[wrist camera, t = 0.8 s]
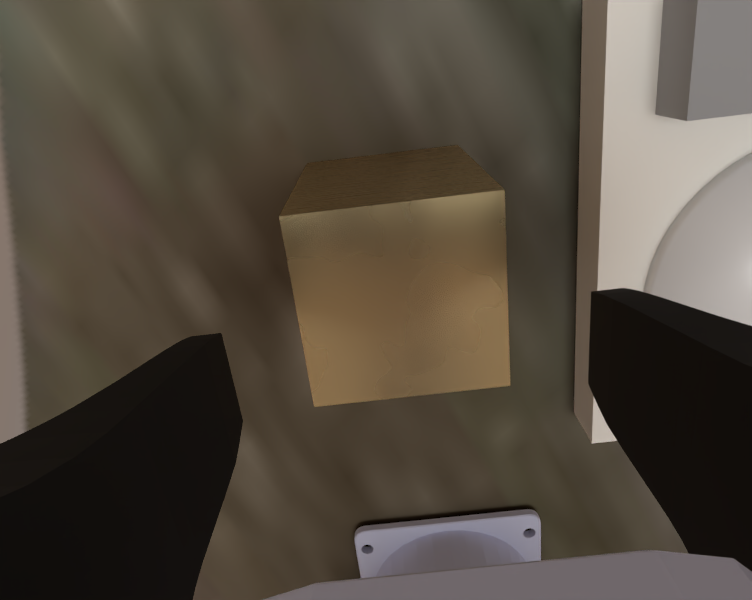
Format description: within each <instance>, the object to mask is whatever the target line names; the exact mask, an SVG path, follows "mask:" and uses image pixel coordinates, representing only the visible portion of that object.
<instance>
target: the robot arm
mask: <svg viewBox="0 0 752 600" xmlns="http://www.w3.org/2000/svg"><path fill="white" fill-rule="evenodd" d="M588 384H589V387H590V389H591V391H592V394H593V396H594V398H595V400H596V403H597V405H598V407H599V409H600V411H601V413H602V415H603V417H604V420H605V422H606V424H607V425H608V427H609V429H610V430H611V432H612V433H613V435H614V436H615V438H616V439H617V441H618V443H619V444H620V446H621V447H622V449H623V450H624V452H625V453H626V455H627V456H628V458H629V459H630V461H631V462H632V464H633V465H634V467H635V468H636V470H637V471H638V473H639V474H640V476H641V477H642V479H643V480H644V482H645V483H646V485H647V486H648V488H649V489H650V491H651V492H652V494H653V495H654V497H655V498H656V500H657V501H658V503H659V504H660V506H661V507H662V509H663V510H664V512H665V513H666V515H667V516H668V518H669V519H670V521H671V523H672V524H673V526H674V528H675V529H676V531H677V533H678V534H679V536H680V538H681V539H682V541H683V543H684V545H685V547H686V549H687V551H688V553H689V554H686V553H676V552H667V551H657V550H640V551H630V552H620V553H610V554H600V555H590V556H580V557H570V558H560V559H550V560H541V521H540V518H539V515H538V513H537V512H536V511H534V510H532V509H524V510H514V511H504V512H494V513H485V514H475V515H465V516H455V517H445V518H436V519H426V520H416V521H406V522H396V523H387V524H377V525H367V526H362V527H359V528H358V529H357V530H356V531H355V547H356V553H357V558H358V564H359V570H360V576H361V578H359V579H349V580H339V581H329V582H319V583H314V584H311V585H308V586H305V587H301V588H298V589H295V590H292V591H288V592H285V593H282V594H279V595H275V596H272V597H269V598H266V599H262V600H752V326H750V325H747V324H743V323H740V322H737V321H733V320H730V319H727V318H723V317H720V316H717V315H714V314H711V313H708V312H705V311H702V310H698V309H695V308H692V307H689V306H686V305H683V304H680V303H677V302H674V301H671V300H668V299H665V298H662V297H659V296H655V295H652V294H649V293H645V292H641V291H638V290H633V289H627V288H618V289H609V290H600V291H591V308H590V339H589V369H588ZM242 423H243V419H242V415H241V411H240V407H239V403H238V399H237V395H236V391H235V387H234V383H233V379H232V375H231V371H230V367H229V362H228V358H227V354H226V350H225V346H224V342H223V338H222V334H221V333H218V334H209V335H200V336H192V337H189V338H186V339H184V340H182V341H180V342H178V343H176V344H175V345H173V346H171V347H169V348H168V349H166V350H165V351H163V352H161V353H160V354H158V355H157V356H155V357H154V358H152V359H150V360H149V361H147V362H146V363H144V364H143V365H141V366H140V367H138V368H137V369H135V370H133V371H132V372H130V373H129V374H127V375H126V376H124V377H123V378H121V379H119V380H118V381H116V382H115V383H113V384H111V385H110V386H108V387H106V388H105V389H103V390H101V391H100V392H98V393H96V394H95V395H93V396H91V397H90V398H88V399H86V400H85V401H83V402H81V403H80V404H78V405H76V406H75V407H73V408H71V409H69V410H67V411H66V412H64V413H62V414H60V415H58V416H56V417H54V418H53V419H51V420H49V421H47V422H45V423H43V424H41V425H39V426H37V427H35V428H33V429H31V430H29V431H27V432H25V433H23V434H21V435H19V436H17V437H14V438H12V439H10V440H8V441H6V442H3V443H1V444H0V600H193V595H194V591H195V587H196V583H197V580H198V576H199V573H200V569H201V566H202V562H203V560H204V557H205V554H206V551H207V548H208V545H209V542H210V539H211V536H212V533H213V530H214V527H215V524H216V521H217V518H218V515H219V512H220V509H221V506H222V503H223V500H224V498H225V494H226V491H227V488H228V485H229V482H230V479H231V476H232V473H233V470H234V467H235V463H236V458H237V453H238V448H239V442H240V436H241V429H242ZM529 528H531V530H528V531H525V530H526V529H529ZM364 545H371V546H369V547H365V546H364Z"/></svg>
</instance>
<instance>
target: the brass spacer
mask: <svg viewBox="0 0 752 600" xmlns="http://www.w3.org/2000/svg"><path fill="white" fill-rule="evenodd" d="M279 220H280V225H281V231H282V236H283V241H284V247H285V252H286V258H287V263H288V268H289V274H290V279H291V285H292V290H293V295H294V301H295V306H296V312H297V317H298V322H299V328H300V333H301V339H302V344H303V349H304V355H305V360H306V366H307V371H308V376H309V382H310V387H311V393H312V398H313V403H314V407H319V406H328V405H337V404H346V403H356V402H365V401H374V400H383V399H392V398H402V397H411V396H420V395H429V394H438V393H447V392H457V391H466V390H475V389H484V388H493V387H502V386H510V355H509V321H508V287H507V253H506V219H505V190H504V189H503V188H502V187H501V186H500V185H499V184H498V183H497V182H496V181H495V180H494V179H493V178H492V177H491V176H490V175H489V174H488V173H487V172H485V171H484V170H483V169H482V168H481V167H480V166H479V165H478V164H477V163H476V162H475V161H474V160H473V159H472V158H471V157H470V156H469V155H468V154H467V153H466V152H464V151H463V150H462V149H461V148H460V147H459V146H458V145H453V146H444V147H436V148H428V149H419V150H411V151H403V152H394V153H386V154H378V155H370V156H361V157H353V158H345V159H336V160H328V161H320V162H312V163H307V165H306V167H305V169H304V170H303V172H302V174H301V176H300V178H299V180H298V182H297V184H296V185H295V187H294V189H293V191H292V193H291V195H290V197H289V198H288V200H287V202H286V204H285V206H284V208H283V210H282V212H281V213H280V215H279Z"/></svg>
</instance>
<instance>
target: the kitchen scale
mask: <svg viewBox="0 0 752 600" xmlns="http://www.w3.org/2000/svg"><path fill="white" fill-rule="evenodd" d="M618 288H627V289H633V290H638V291H641V292H645V293H649V294H652V295H655V296H659V297H662V298H665V299H668V300H671V301H674V302H677V303H680V304H683V305H686V306H689V307H692V308H695V309H698V310H702V311H705V312H708V313H711V314H714V315H717V316H720V317H723V318H727V319H730V320H733V321H737V322H740V323H743V324H747V325H750V326H752V0H582V48H581V96H580V143H579V191H578V238H577V286H576V334H575V381H574V414H575V415H576V417H577V419H578V421H579V422H580V424H581V426H582V427H583V429H584V431H585V433H586V434H587V436H588V438H589V439H590V441H591V443H601V442H610V441H617V439H616V438H615V436H614V435H613V433H612V432H611V430H610V429H609V427H608V425H607V424H606V422H605V420H604V417H603V415H602V413H601V411H600V409H599V407H598V405H597V403H596V400H595V398H594V396H593V394H592V391H591V389H590V387H589V384H588V369H589V339H590V308H591V291H600V290H609V289H618Z"/></svg>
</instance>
